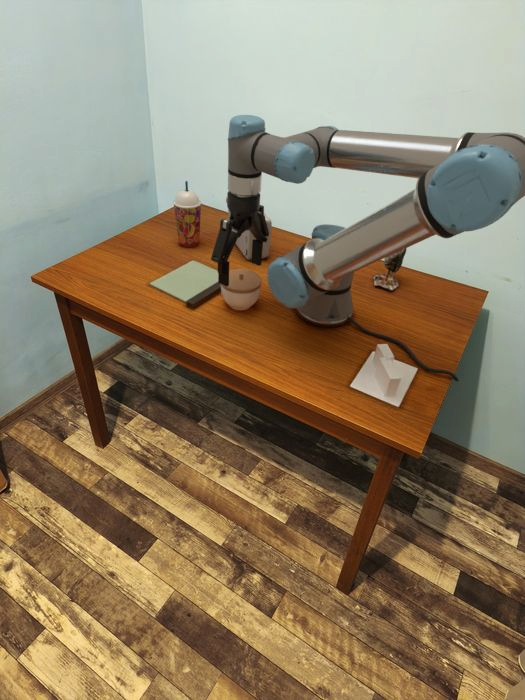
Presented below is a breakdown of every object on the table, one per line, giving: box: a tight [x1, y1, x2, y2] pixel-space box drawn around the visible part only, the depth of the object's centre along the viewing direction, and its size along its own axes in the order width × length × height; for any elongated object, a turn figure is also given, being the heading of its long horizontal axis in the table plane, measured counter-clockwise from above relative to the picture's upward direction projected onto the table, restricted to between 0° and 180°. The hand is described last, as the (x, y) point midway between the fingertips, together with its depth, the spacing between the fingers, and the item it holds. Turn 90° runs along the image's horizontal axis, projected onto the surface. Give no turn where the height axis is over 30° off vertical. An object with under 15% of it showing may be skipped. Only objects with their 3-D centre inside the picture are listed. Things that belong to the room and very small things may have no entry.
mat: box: [149, 259, 218, 304], centre depth 130 cm, size 14×18×1 cm
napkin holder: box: [349, 343, 419, 408], centre depth 102 cm, size 15×11×6 cm
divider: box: [185, 282, 221, 310], centre depth 126 cm, size 2×20×2 cm, turn 144°
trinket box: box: [220, 268, 263, 311], centre depth 120 cm, size 11×11×9 cm
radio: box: [225, 196, 273, 261], centre depth 143 cm, size 21×8×20 cm, turn 22°
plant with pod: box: [373, 248, 407, 291], centre depth 131 cm, size 8×11×20 cm
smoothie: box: [172, 180, 202, 248], centre depth 142 cm, size 8×8×20 cm
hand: (240, 273), depth 117 cm, fingers open, 13 cm apart
